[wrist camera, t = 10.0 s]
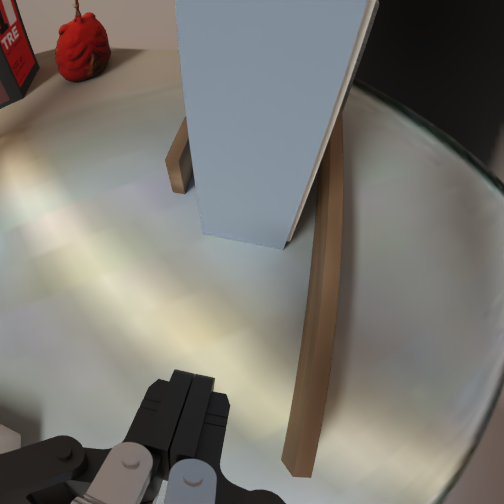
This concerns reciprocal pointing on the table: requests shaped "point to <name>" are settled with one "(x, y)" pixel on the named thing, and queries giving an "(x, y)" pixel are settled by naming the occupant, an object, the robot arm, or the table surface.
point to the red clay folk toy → (82, 47)
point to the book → (263, 105)
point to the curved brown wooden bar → (318, 301)
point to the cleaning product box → (14, 55)
